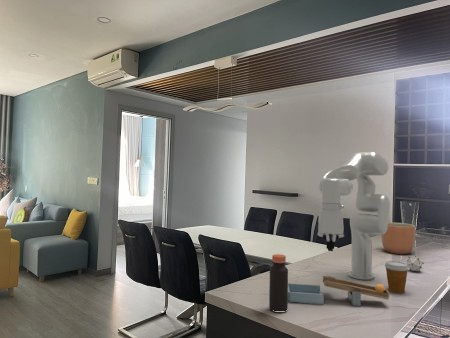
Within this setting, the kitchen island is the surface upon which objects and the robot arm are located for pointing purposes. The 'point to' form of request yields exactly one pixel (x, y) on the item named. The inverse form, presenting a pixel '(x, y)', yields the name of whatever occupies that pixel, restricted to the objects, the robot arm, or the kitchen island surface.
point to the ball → (380, 288)
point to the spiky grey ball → (414, 264)
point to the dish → (305, 294)
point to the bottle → (278, 284)
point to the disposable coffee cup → (396, 276)
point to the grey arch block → (355, 298)
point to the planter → (399, 238)
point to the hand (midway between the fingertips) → (330, 250)
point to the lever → (354, 287)
